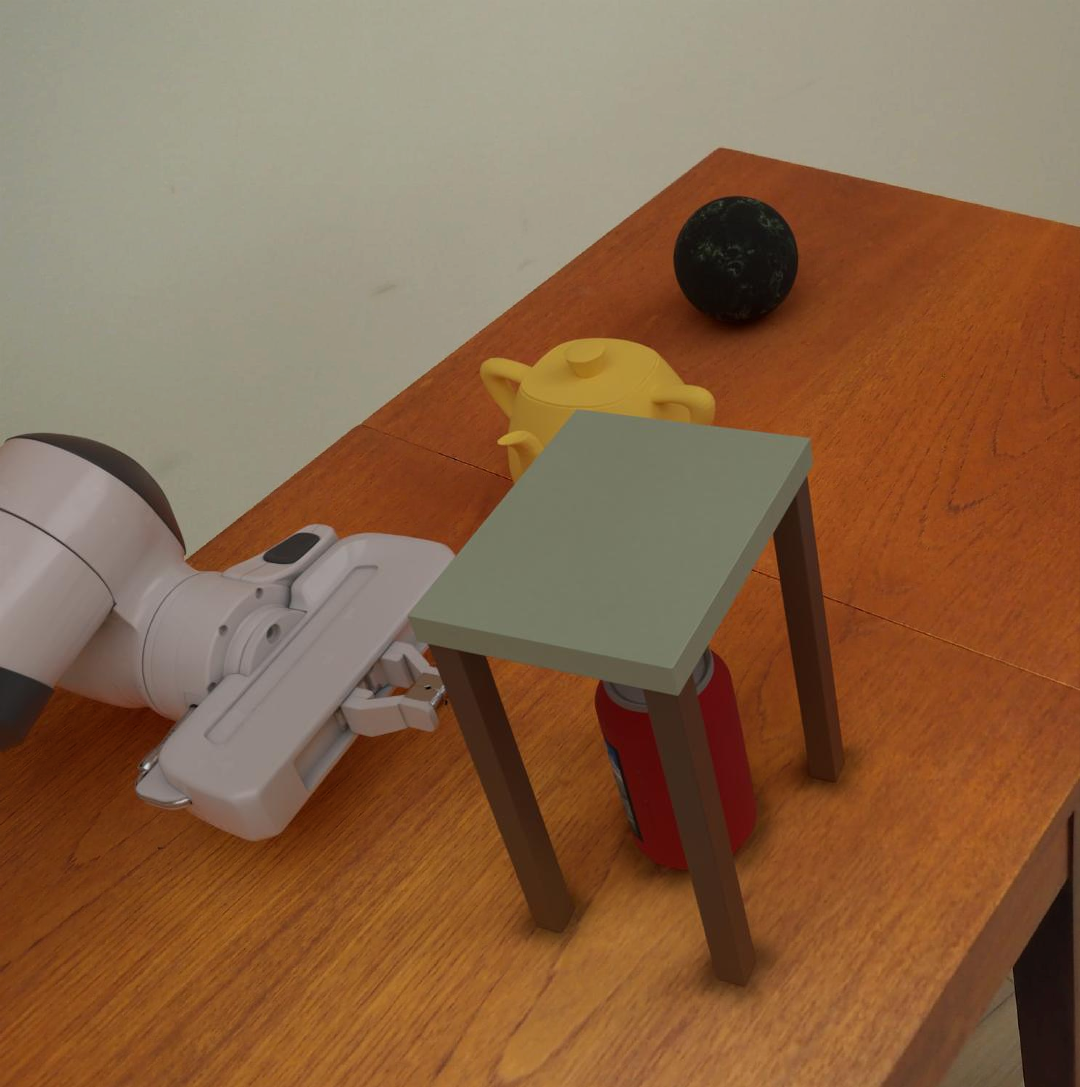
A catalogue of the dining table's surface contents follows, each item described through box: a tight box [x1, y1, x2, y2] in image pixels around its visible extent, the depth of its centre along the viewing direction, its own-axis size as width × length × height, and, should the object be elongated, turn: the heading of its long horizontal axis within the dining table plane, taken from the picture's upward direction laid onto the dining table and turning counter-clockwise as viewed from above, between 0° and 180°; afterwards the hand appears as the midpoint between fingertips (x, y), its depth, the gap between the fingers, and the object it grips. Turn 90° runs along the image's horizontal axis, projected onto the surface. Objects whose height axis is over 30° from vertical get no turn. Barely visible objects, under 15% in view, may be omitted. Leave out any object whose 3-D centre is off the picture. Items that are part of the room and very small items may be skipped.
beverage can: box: [594, 645, 758, 870], centre depth 69 cm, size 7×7×12 cm
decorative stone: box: [672, 195, 799, 325], centre depth 110 cm, size 10×10×10 cm
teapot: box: [479, 337, 716, 486], centre depth 93 cm, size 14×14×12 cm
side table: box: [407, 409, 846, 988], centre depth 65 cm, size 15×12×22 cm
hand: (446, 702), depth 72 cm, fingers closed
